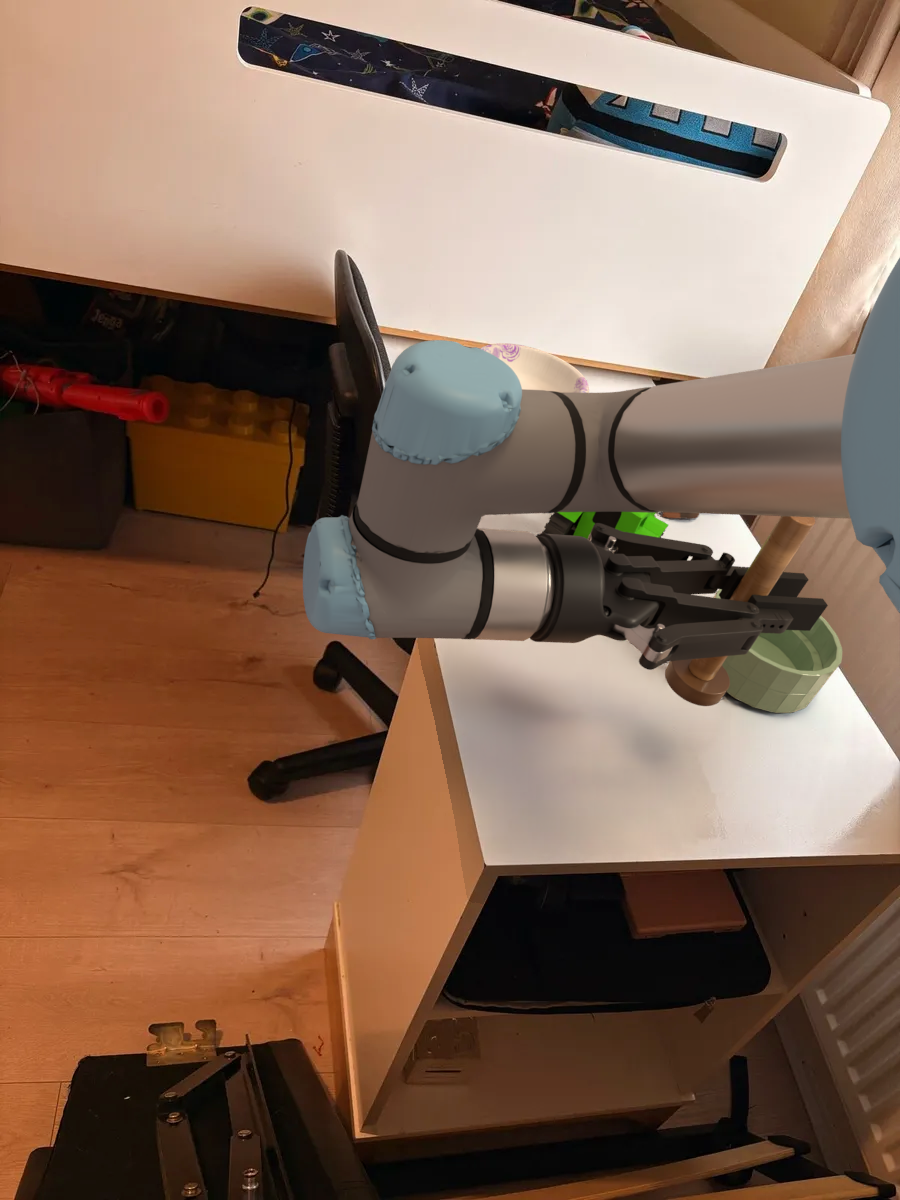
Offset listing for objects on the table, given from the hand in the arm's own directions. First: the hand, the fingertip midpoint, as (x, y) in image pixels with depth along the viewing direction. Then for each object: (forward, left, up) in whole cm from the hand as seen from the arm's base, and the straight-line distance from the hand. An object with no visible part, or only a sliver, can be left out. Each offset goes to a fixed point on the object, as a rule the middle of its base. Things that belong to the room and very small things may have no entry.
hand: (806, 601), depth 70 cm
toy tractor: (+26, +1, -18) cm, 32 cm away
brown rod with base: (0, +6, -9) cm, 11 cm away
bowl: (+10, -10, -18) cm, 23 cm away
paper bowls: (+53, +4, -18) cm, 56 cm away
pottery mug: (+39, -14, -18) cm, 46 cm away
